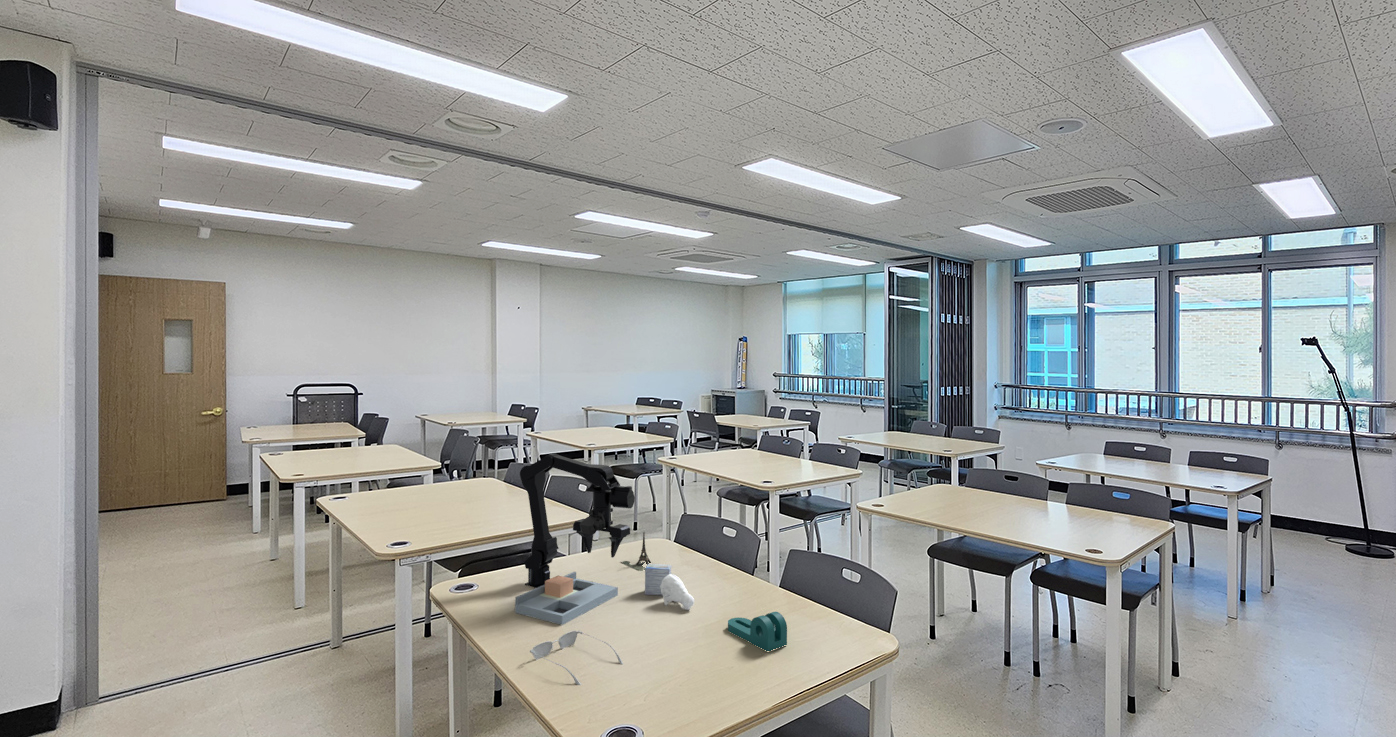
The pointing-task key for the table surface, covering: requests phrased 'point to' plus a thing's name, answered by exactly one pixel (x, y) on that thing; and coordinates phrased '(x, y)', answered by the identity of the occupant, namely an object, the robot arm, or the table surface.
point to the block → (558, 586)
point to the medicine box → (655, 578)
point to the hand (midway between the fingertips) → (600, 555)
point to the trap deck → (564, 601)
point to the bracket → (761, 630)
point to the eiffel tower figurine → (640, 558)
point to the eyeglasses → (564, 642)
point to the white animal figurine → (676, 591)
